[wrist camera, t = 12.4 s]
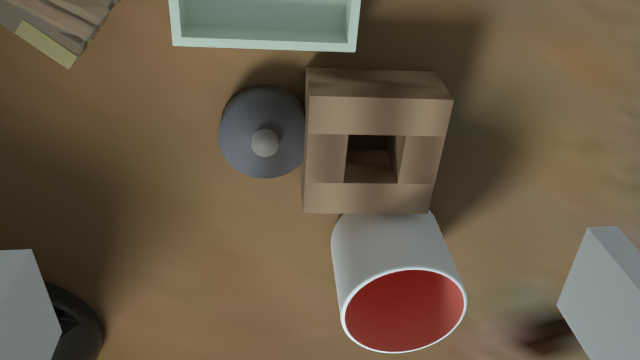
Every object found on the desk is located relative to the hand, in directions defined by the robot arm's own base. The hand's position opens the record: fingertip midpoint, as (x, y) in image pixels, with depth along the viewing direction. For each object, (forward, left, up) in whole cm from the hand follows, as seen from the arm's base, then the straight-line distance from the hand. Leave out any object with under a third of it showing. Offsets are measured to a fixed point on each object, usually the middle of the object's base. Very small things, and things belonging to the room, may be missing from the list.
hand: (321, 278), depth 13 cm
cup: (+9, -22, -28) cm, 37 cm away
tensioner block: (+6, -11, -28) cm, 31 cm away
